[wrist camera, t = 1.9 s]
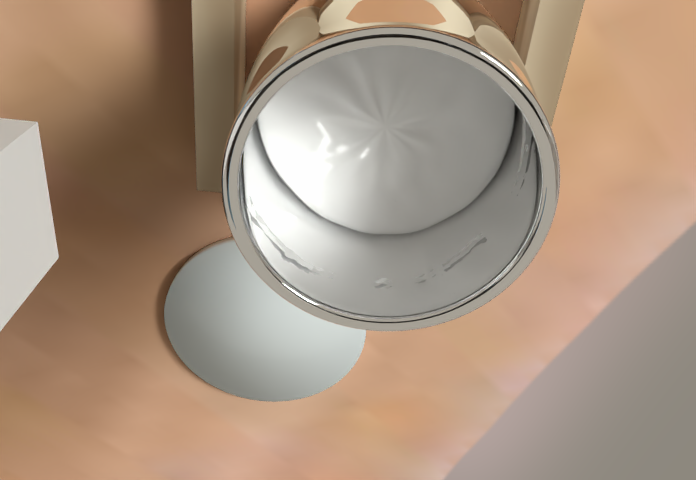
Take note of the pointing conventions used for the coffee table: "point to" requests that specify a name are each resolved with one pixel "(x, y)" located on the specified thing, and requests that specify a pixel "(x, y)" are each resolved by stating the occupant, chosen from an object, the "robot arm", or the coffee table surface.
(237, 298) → the white glossy dome
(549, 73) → the frame
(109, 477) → the coffee table surface
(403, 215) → the silver tall cylindrical piece
